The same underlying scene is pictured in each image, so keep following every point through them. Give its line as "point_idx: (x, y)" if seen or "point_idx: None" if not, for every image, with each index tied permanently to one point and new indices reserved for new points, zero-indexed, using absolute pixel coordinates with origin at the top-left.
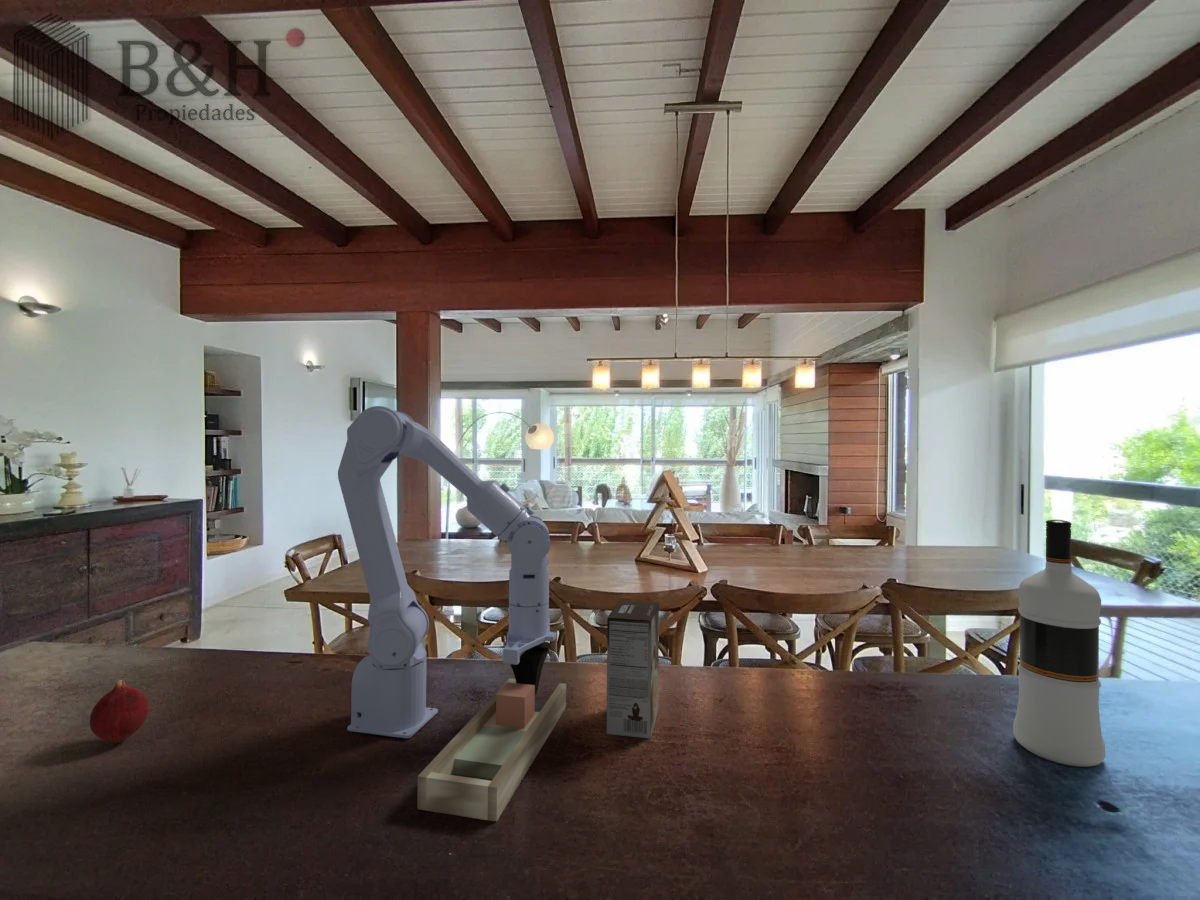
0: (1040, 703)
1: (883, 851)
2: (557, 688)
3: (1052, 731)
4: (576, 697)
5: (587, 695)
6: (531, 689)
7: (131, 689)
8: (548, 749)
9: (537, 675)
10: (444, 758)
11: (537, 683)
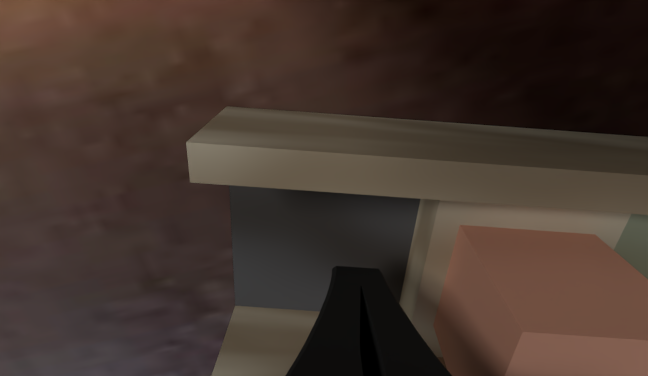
0: None
1: None
2: (267, 180)
3: None
4: (105, 75)
5: (57, 19)
6: (594, 336)
7: None
8: (615, 102)
9: (406, 355)
10: None
11: (359, 306)
